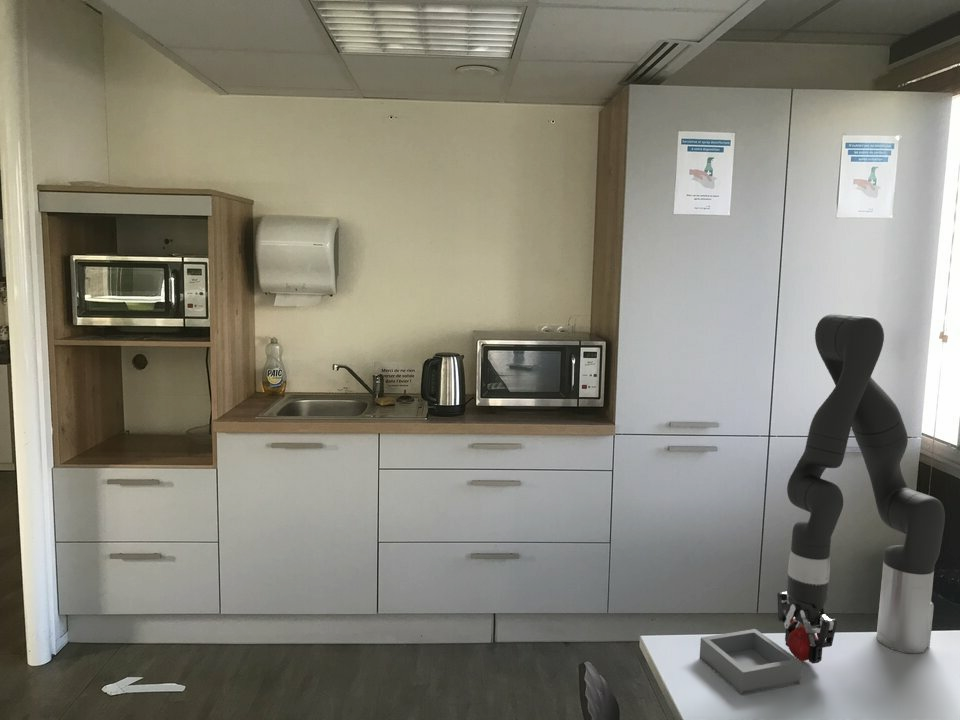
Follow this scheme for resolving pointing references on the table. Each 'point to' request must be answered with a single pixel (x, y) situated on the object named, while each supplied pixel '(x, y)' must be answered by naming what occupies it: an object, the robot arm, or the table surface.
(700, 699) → the table surface
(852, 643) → the table surface
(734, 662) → the box
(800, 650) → the pomegranate
